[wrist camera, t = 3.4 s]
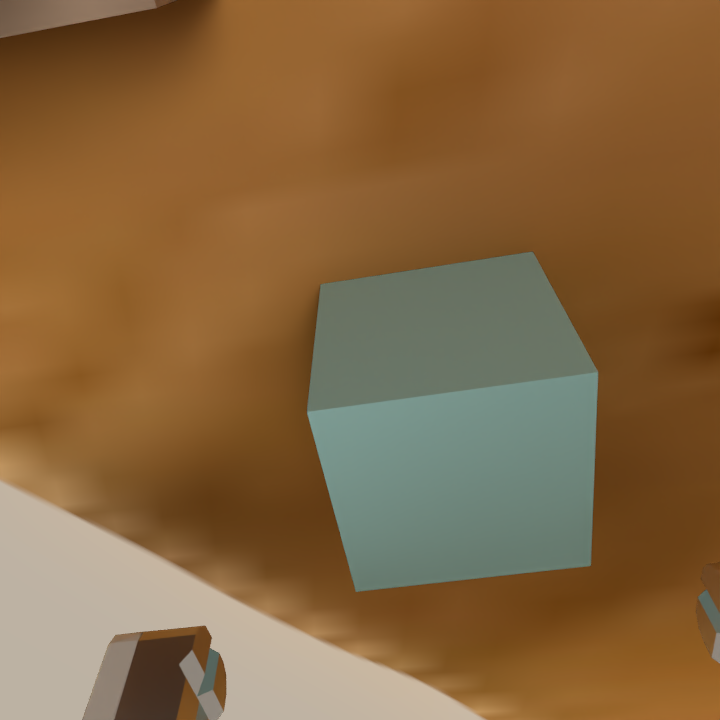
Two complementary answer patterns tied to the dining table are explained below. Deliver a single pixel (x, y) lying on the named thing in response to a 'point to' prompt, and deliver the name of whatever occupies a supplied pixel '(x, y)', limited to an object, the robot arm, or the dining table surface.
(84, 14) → the tower base
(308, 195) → the dining table surface
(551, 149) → the dining table surface
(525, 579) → the dining table surface
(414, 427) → the teal block
